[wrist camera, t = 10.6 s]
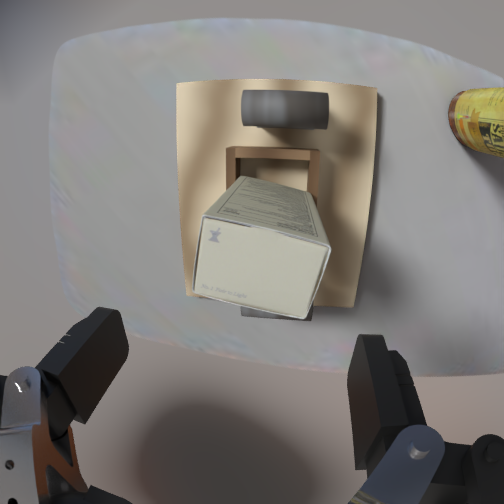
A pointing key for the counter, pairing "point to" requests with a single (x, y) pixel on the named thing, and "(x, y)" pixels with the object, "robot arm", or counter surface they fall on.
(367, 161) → the board
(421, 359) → the counter surface
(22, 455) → the robot arm
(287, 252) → the skincare box
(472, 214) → the counter surface
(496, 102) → the sauce bottle
